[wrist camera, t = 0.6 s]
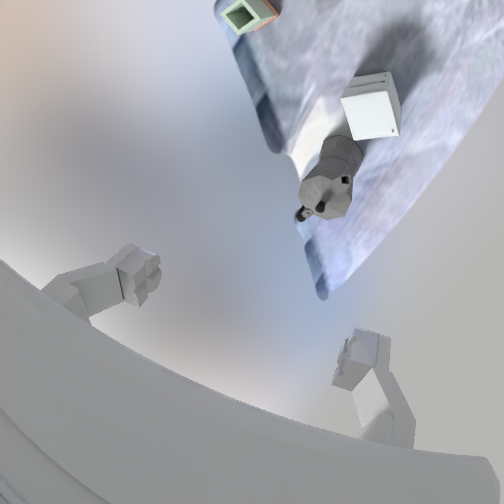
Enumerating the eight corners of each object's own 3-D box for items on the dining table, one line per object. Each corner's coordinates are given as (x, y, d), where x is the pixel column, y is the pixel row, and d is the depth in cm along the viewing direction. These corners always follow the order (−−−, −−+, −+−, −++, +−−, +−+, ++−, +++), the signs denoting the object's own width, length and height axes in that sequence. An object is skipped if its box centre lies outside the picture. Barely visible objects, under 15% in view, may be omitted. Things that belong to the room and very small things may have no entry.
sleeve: (262, -7, 37) (241, -5, 33) (280, 15, 40) (262, 19, 35) (240, 9, 41) (218, 13, 37) (257, 29, 44) (238, 36, 39)
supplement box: (391, 69, 40) (389, 89, 33) (401, 108, 44) (401, 137, 37) (351, 75, 44) (338, 97, 37) (363, 112, 48) (353, 142, 41)
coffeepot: (343, 119, 51) (321, 167, 41) (379, 151, 53) (368, 208, 43) (300, 164, 64) (269, 218, 54) (333, 191, 65) (310, 249, 55)
